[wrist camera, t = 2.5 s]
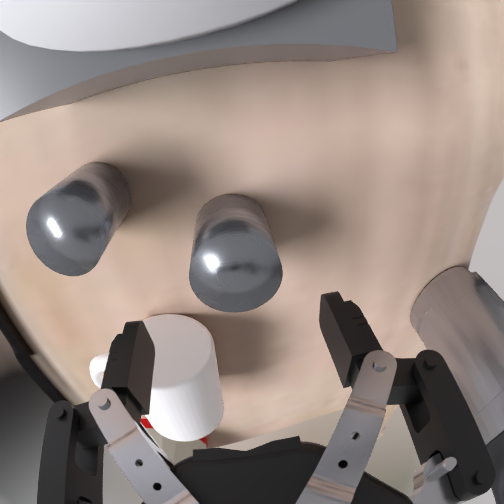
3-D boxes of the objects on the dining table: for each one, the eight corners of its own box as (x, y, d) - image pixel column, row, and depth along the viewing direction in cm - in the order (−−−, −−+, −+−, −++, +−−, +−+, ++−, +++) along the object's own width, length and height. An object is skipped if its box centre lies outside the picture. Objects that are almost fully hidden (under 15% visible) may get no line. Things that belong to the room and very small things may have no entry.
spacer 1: (120, 154, 17) (84, 184, 12) (138, 222, 20) (114, 270, 15) (60, 172, 17) (15, 205, 12) (80, 233, 20) (46, 280, 15)
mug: (213, 310, 25) (215, 389, 18) (222, 376, 30) (226, 441, 23) (87, 313, 24) (61, 382, 17) (118, 376, 29) (107, 436, 22)
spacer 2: (263, 189, 20) (280, 230, 15) (268, 252, 22) (284, 305, 17) (189, 199, 19) (179, 244, 14) (202, 261, 22) (199, 317, 17)
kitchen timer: (205, 421, 36) (210, 519, 23) (207, 451, 43) (212, 526, 30) (110, 413, 34) (98, 505, 21) (131, 446, 41) (126, 518, 28)
